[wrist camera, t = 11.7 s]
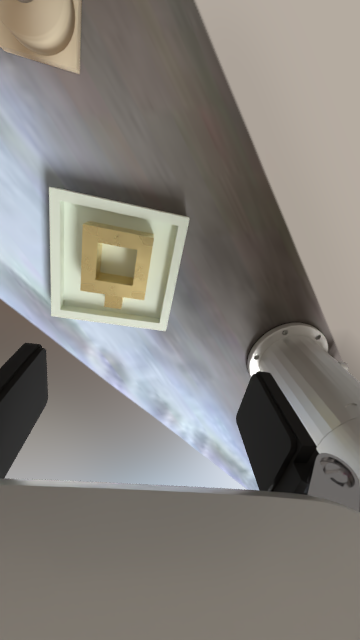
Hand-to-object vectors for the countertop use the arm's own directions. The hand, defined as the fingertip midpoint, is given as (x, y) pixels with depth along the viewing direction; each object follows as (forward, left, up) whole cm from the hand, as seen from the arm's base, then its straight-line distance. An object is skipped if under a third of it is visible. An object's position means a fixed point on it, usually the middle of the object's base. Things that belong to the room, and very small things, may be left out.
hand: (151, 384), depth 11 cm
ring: (+4, 0, -21) cm, 21 cm away
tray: (+4, +1, -22) cm, 22 cm away
